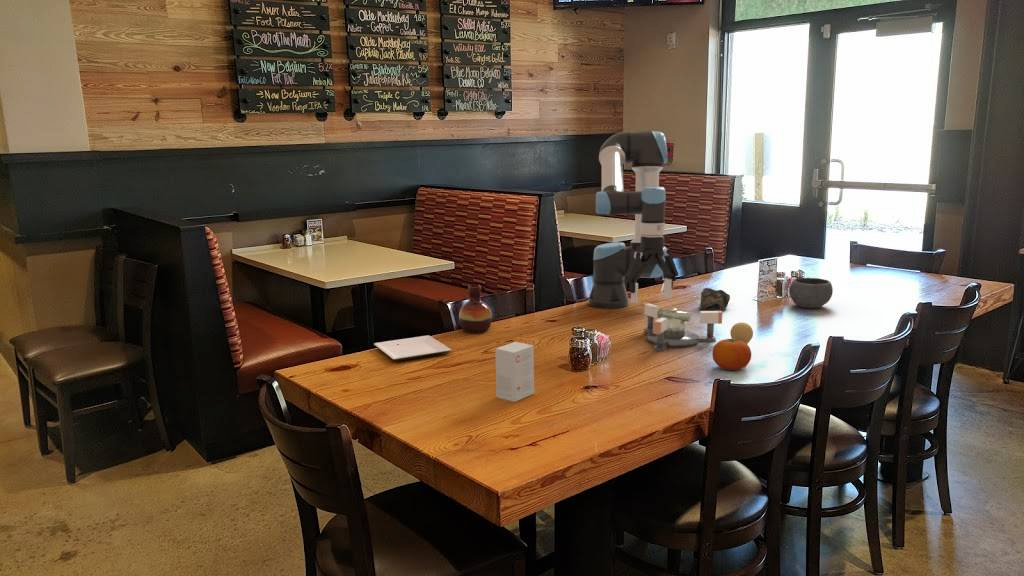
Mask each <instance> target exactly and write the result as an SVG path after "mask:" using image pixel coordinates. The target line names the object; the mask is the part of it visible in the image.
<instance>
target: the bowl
mask: <svg viewBox="0 0 1024 576" xmlns="http://www.w3.org/2000/svg"><path fill="white" fill-rule="evenodd" d="M833 291H834V289H833V285H832V282H831V281H830V280H827V279H823V278H819V277H799V278H794V279H793V280H792V281H791V283H790V285H789V296H790V298H791V300H792V302H793V303H794V304H795V305H796V306H798V307H800V308H805V309H817V308H820V307H823V306H824V305H826V304H828V303H829V301H831V299H832V297H833Z"/></svg>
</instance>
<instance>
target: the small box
mask: <svg viewBox="0 0 1024 576" xmlns="http://www.w3.org/2000/svg"><path fill="white" fill-rule="evenodd" d="M494 350H495V351H494V352H495V353H494V354H495V392H496V398H498V399H501V400H505V401H508V402H513V403H516V402H518V401H520V400H523V399H525V398H527V397H529V396H531V395H535V369H534V367H535V366H534V365H535V360H534V358H535V356H534V345H532V344H528V343H525V342H524V343H523V342H519V341H513V342H510V343H508V344H505V345H502V346H499V347H495V348H494Z"/></svg>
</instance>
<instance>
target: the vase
mask: <svg viewBox="0 0 1024 576" xmlns="http://www.w3.org/2000/svg"><path fill="white" fill-rule="evenodd" d="M481 289H482V286H481V285H480V284H469V285H468V294H469V295H468V296H469V297H468V301H467V302H465V303H464V304H462V306H461V308H460V310H459V313H458V321H459V325H460V328H461V330H463V332H465V333H467V334H482V333H486V332H487V331H488V330H489V329H490V327H491V325H492V319H493V314H492V310H491V308H490V306H489V305H488V304H487V303H486V302H484V301H482V299H481V293H482V291H481Z"/></svg>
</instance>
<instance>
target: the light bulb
mask: <svg viewBox="0 0 1024 576" xmlns="http://www.w3.org/2000/svg"><path fill="white" fill-rule="evenodd" d="M753 336H754V330H753V328H752V326H751V325H750V324H749V323H746V322H737V323H735V324H733V326H732V327H731V329H730V337H731V338H730V339H737V340H740V341H743V342H745V343H746V344H747V345H748V344H749V343H750V341H751V340H752V339H753Z"/></svg>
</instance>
